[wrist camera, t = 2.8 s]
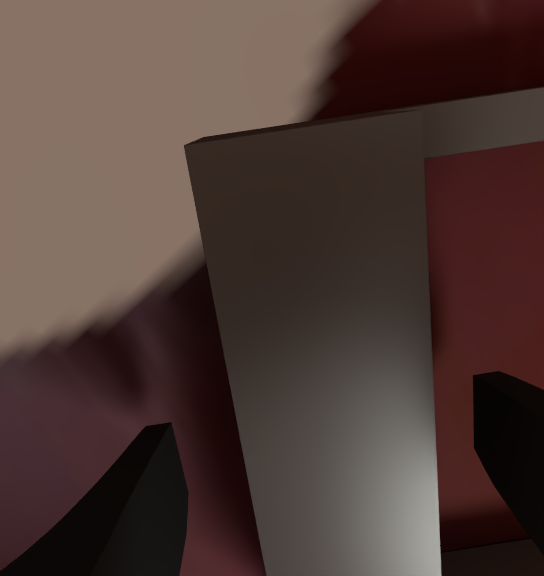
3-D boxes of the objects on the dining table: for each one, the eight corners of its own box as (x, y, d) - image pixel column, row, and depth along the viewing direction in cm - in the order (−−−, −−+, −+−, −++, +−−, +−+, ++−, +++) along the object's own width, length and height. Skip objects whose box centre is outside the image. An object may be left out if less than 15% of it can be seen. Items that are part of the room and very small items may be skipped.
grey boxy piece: (287, 602, 16) (301, 757, 12) (203, 137, 11) (183, 145, 7) (555, 559, 16) (655, 699, 12) (582, 80, 11) (758, 59, 7)
